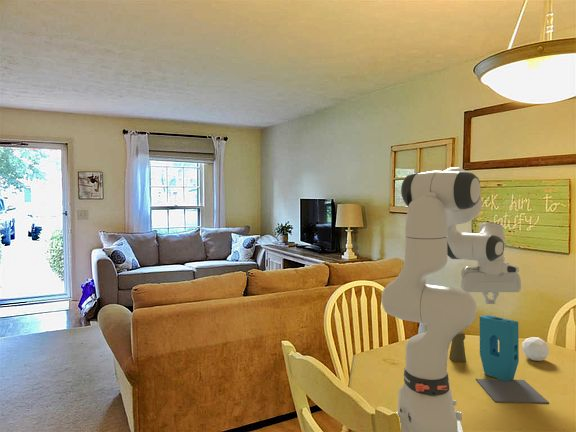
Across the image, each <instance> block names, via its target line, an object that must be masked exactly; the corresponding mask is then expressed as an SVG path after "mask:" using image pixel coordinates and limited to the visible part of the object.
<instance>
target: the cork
mask: <svg viewBox="0 0 576 432" xmlns="http://www.w3.org/2000/svg"><path fill="white" fill-rule="evenodd" d="M465 339H466V334H465V332H464V331H463V330H462V331H460V332H459V333H458V334H456V336H455V337H454V338H453V339H452V341H451V343H450V351H449V358H448V359H449V360H451V361H453V362H456V363H464V362H467V358H466V349H465V348H466V347H465Z"/></svg>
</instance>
